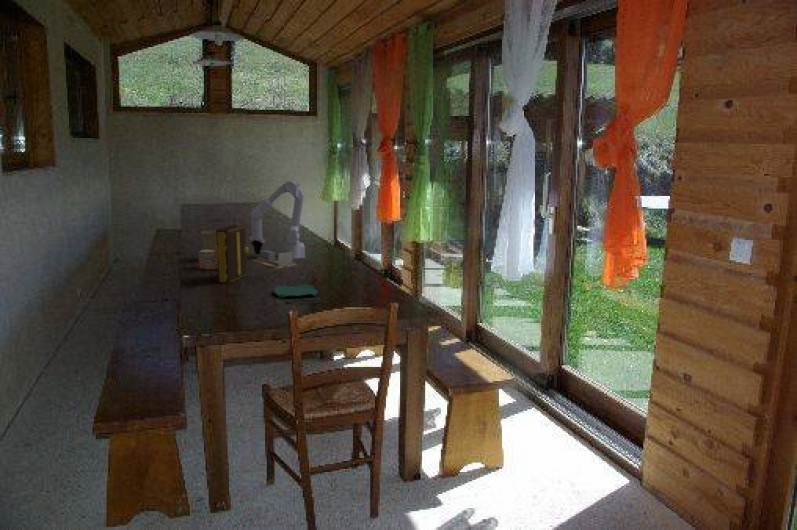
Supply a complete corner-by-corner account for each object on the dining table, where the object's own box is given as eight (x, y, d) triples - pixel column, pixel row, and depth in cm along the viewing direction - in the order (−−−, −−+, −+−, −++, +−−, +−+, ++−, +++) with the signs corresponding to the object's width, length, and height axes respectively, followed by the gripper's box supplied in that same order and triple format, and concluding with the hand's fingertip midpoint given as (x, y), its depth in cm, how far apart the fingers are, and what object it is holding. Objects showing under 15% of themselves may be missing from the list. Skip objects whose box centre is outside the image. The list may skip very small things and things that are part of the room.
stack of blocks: (198, 269, 330) (197, 245, 328) (203, 266, 336) (202, 243, 334) (239, 270, 328) (238, 246, 326) (243, 268, 335) (242, 244, 332)
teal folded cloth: (314, 287, 292) (314, 282, 292) (327, 304, 264) (327, 299, 264) (270, 290, 287) (270, 285, 286) (278, 308, 259) (278, 302, 258)
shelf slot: (273, 258, 361) (273, 245, 360) (297, 265, 342) (297, 251, 340) (250, 261, 352) (250, 247, 351) (274, 268, 333) (273, 254, 331)
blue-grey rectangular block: (266, 258, 357) (265, 249, 356) (274, 261, 350) (274, 252, 349) (260, 259, 355) (260, 250, 354) (269, 261, 347) (268, 252, 346)
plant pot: (225, 263, 347) (224, 234, 344) (198, 262, 347) (196, 233, 344) (233, 258, 361) (232, 230, 358) (207, 257, 362) (205, 229, 359)
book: (231, 283, 298) (229, 230, 293) (214, 282, 299) (212, 229, 295) (251, 274, 319) (250, 224, 314) (235, 273, 321) (233, 223, 316)
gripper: (244, 229, 361) (245, 253, 363) (256, 232, 350) (257, 256, 352) (255, 228, 365) (256, 251, 368) (268, 231, 354) (268, 255, 357)
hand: (257, 254), depth 360 cm, fingers closed
